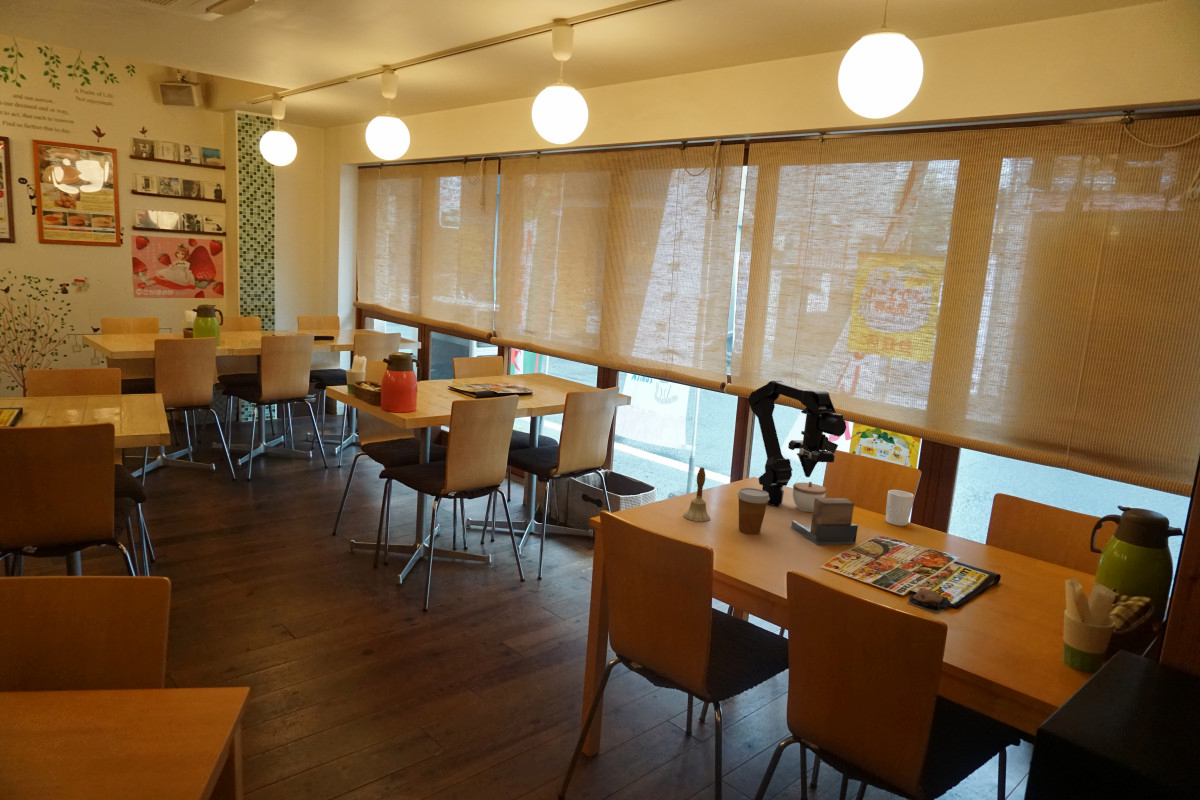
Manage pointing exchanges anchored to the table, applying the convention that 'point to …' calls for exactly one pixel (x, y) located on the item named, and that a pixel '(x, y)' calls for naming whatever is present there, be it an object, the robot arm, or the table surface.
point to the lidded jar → (807, 495)
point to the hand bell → (698, 502)
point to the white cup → (898, 507)
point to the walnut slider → (831, 512)
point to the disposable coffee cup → (752, 509)
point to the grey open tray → (828, 533)
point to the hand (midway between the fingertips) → (807, 477)
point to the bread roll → (929, 601)
